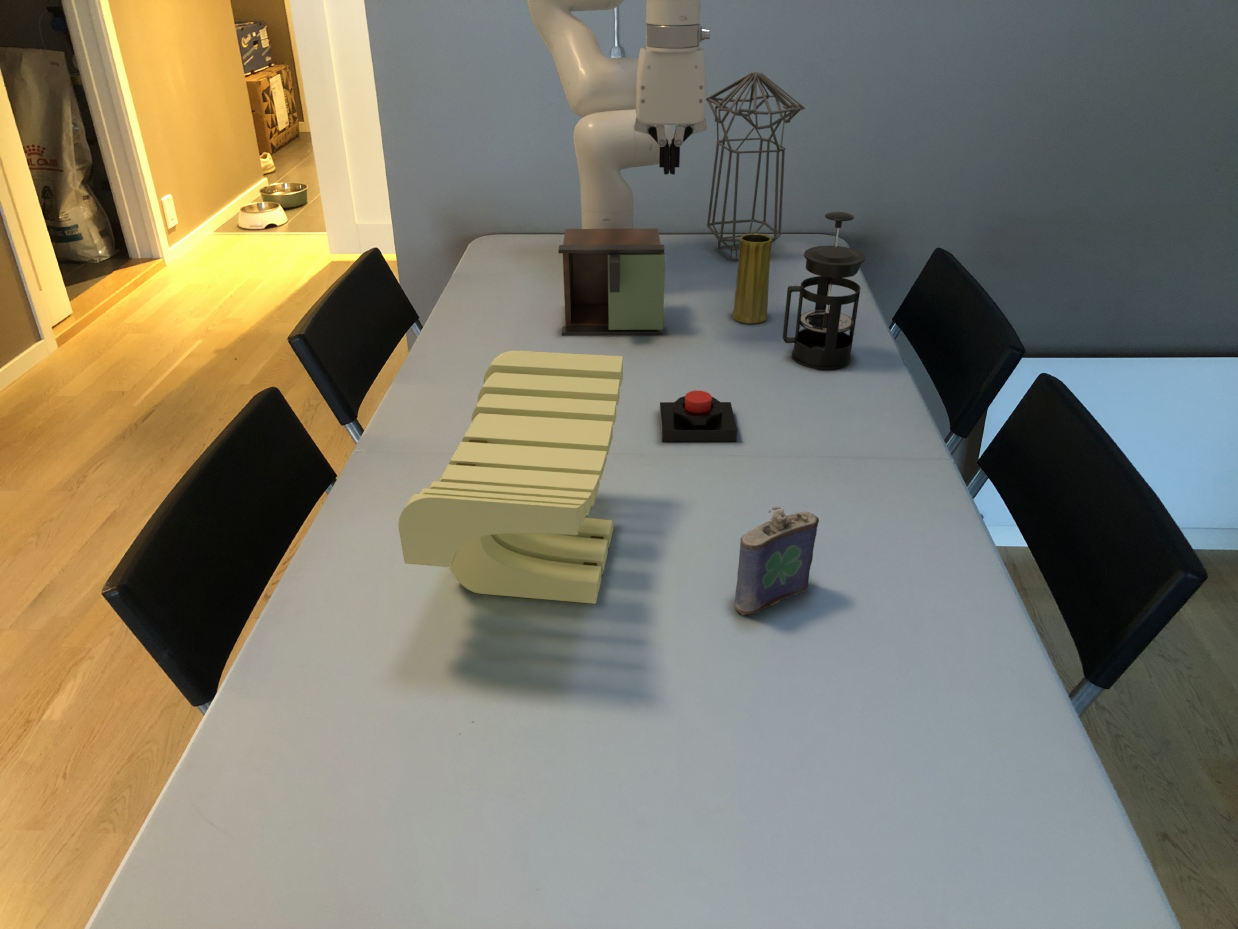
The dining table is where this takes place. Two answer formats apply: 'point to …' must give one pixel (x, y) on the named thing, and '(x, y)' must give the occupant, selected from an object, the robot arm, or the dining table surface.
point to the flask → (775, 560)
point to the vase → (752, 279)
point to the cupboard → (597, 275)
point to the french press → (825, 322)
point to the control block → (697, 423)
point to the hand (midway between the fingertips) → (669, 172)
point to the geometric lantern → (760, 79)
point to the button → (698, 401)
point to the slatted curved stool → (525, 482)
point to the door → (636, 291)
